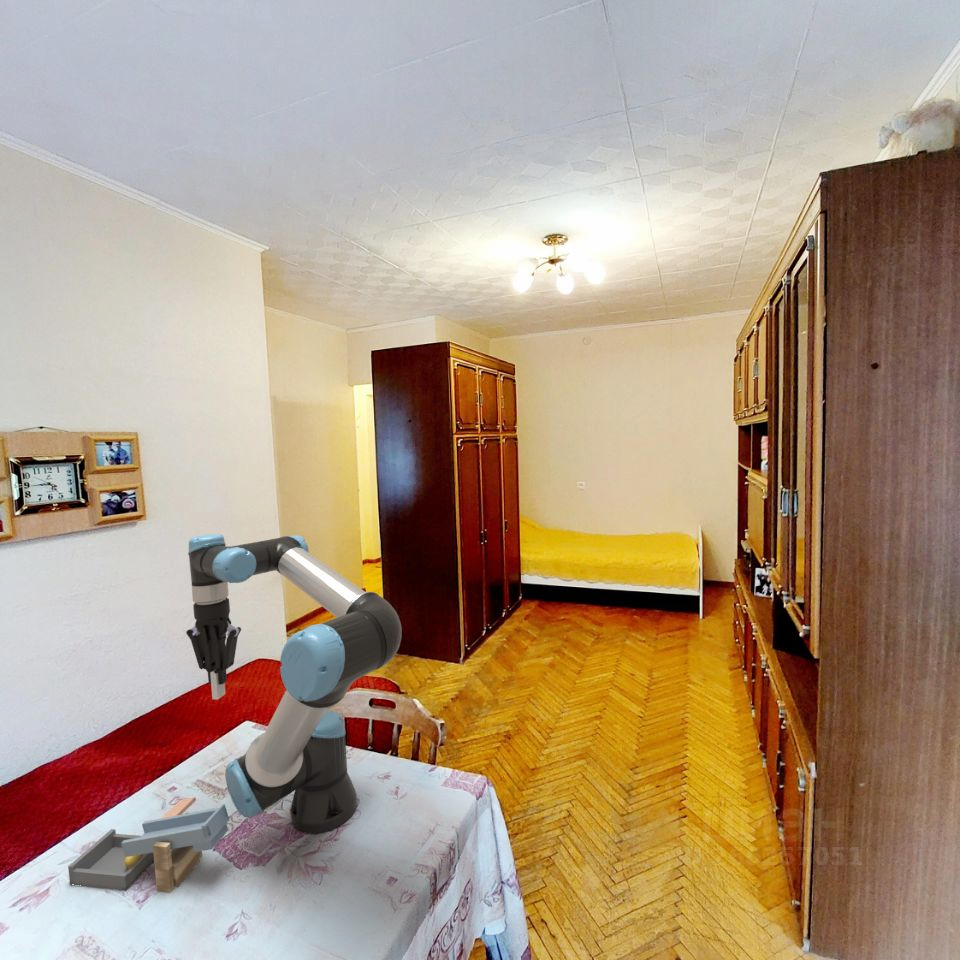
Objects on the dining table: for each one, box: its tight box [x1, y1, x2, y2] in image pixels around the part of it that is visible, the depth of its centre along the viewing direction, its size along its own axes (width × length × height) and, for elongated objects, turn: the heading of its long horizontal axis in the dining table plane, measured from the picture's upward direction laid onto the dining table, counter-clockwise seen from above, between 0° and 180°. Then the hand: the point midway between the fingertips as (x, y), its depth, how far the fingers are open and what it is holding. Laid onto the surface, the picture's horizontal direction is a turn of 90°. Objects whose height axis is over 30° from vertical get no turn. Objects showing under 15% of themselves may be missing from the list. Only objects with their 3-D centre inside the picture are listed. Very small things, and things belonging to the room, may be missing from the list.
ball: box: [125, 854, 143, 868], centre depth 105 cm, size 3×3×3 cm
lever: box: [121, 796, 230, 857], centre depth 107 cm, size 20×16×5 cm
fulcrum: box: [153, 812, 203, 893], centre depth 103 cm, size 4×9×10 cm, turn 171°
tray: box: [67, 828, 154, 892], centre depth 105 cm, size 13×10×4 cm
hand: (219, 696), depth 120 cm, fingers closed
